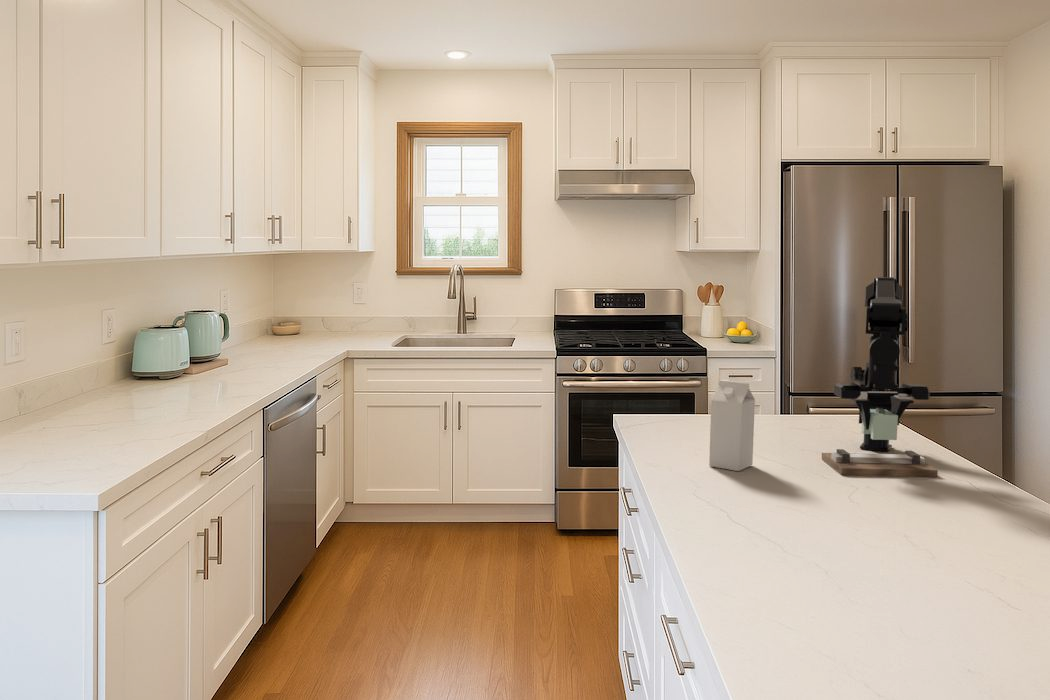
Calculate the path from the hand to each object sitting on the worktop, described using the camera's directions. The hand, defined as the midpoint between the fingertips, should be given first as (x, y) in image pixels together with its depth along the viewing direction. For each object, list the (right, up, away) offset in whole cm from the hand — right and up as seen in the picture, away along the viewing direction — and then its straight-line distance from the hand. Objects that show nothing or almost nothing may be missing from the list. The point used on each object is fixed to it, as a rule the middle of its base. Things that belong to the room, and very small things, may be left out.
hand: (879, 429), depth 178 cm
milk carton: (-32, -9, +2) cm, 34 cm away
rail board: (0, -9, +1) cm, 9 cm away
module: (0, -2, 0) cm, 2 cm away
